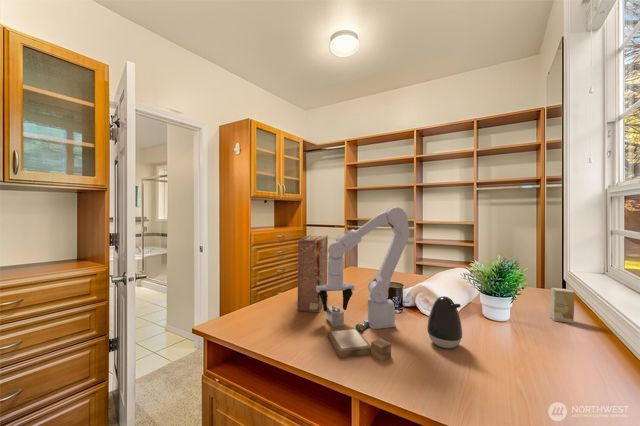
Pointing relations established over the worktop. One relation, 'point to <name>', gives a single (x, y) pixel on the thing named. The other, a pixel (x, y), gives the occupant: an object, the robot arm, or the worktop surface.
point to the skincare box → (562, 305)
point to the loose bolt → (362, 326)
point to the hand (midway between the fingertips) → (334, 309)
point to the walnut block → (381, 349)
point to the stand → (349, 343)
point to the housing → (335, 316)
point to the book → (311, 271)
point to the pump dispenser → (445, 323)
